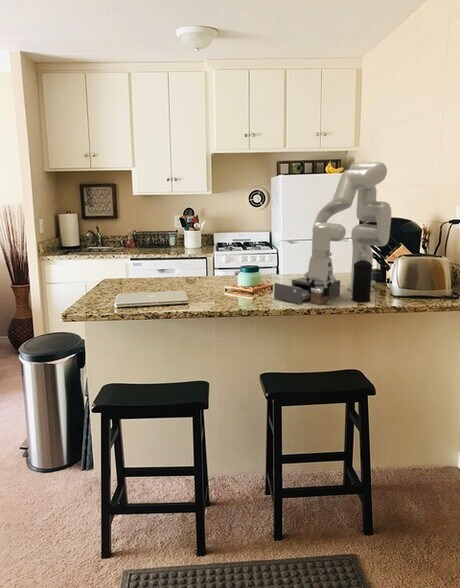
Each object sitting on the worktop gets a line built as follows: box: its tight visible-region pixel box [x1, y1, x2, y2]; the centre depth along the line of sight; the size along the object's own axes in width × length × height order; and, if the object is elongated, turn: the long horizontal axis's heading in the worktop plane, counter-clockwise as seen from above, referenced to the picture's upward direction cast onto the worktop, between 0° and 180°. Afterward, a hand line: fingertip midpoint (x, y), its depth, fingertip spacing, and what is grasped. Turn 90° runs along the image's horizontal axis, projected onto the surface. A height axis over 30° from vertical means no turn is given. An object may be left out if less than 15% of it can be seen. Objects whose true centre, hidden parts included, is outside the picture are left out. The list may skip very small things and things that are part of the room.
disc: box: [311, 286, 325, 293], centre depth 222 cm, size 7×7×2 cm
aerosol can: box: [351, 255, 374, 303], centre depth 226 cm, size 8×8×20 cm
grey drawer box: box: [291, 276, 341, 299], centre depth 238 cm, size 15×16×7 cm
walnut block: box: [309, 292, 328, 305], centre depth 223 cm, size 5×5×5 cm
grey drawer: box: [273, 282, 311, 305], centre depth 229 cm, size 16×15×7 cm
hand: (318, 294), depth 222 cm, fingers closed on disc, 7 cm apart
